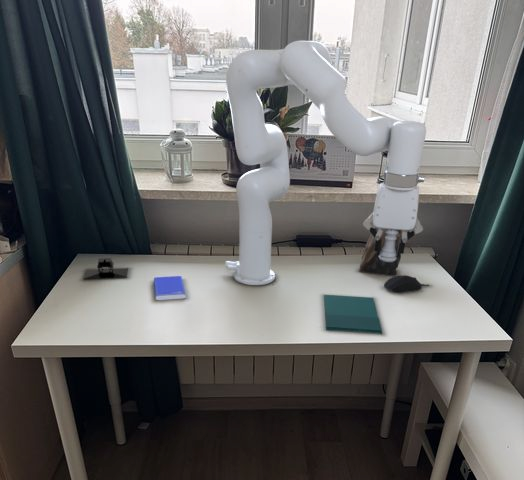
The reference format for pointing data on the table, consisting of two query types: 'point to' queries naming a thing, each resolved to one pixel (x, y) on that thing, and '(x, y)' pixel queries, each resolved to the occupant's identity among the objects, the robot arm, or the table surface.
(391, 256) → the rook chess piece
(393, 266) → the brown faceted tall stone
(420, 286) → the gaming mouse
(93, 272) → the build plate
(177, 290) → the hard drive
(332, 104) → the robot arm
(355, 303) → the flat rectangular slab
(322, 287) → the table surface
